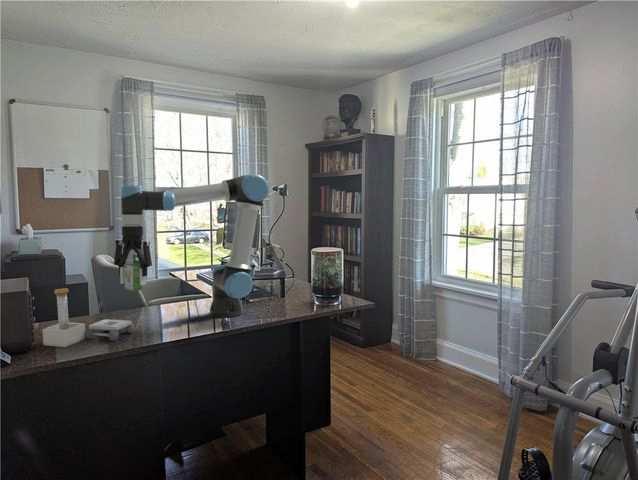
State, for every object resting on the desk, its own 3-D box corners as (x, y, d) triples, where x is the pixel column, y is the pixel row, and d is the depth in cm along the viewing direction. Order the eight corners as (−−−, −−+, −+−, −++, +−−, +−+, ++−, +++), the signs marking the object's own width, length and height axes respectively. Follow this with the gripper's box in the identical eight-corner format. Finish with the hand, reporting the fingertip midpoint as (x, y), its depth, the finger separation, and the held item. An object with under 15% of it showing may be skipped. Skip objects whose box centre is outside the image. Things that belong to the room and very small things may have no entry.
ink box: (124, 289, 172) (123, 255, 171) (133, 287, 175) (133, 254, 174) (132, 291, 167) (132, 256, 166) (142, 290, 170) (142, 255, 169)
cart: (135, 331, 176) (135, 319, 176) (112, 342, 163) (112, 328, 162) (109, 329, 179) (108, 317, 178) (84, 340, 165) (84, 327, 165)
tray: (85, 339, 167) (84, 323, 166) (66, 347, 157) (65, 330, 157) (63, 337, 169) (63, 322, 168) (43, 345, 159) (42, 329, 159)
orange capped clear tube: (74, 338, 165) (71, 288, 163) (65, 342, 160) (61, 290, 159) (64, 338, 165) (60, 288, 164) (55, 342, 161) (51, 290, 159)
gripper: (161, 225, 171) (162, 283, 172) (115, 224, 175) (116, 281, 177) (150, 226, 163) (150, 287, 165) (102, 225, 168) (103, 284, 170)
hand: (133, 283), depth 171 cm, fingers closed on ink box, 8 cm apart
